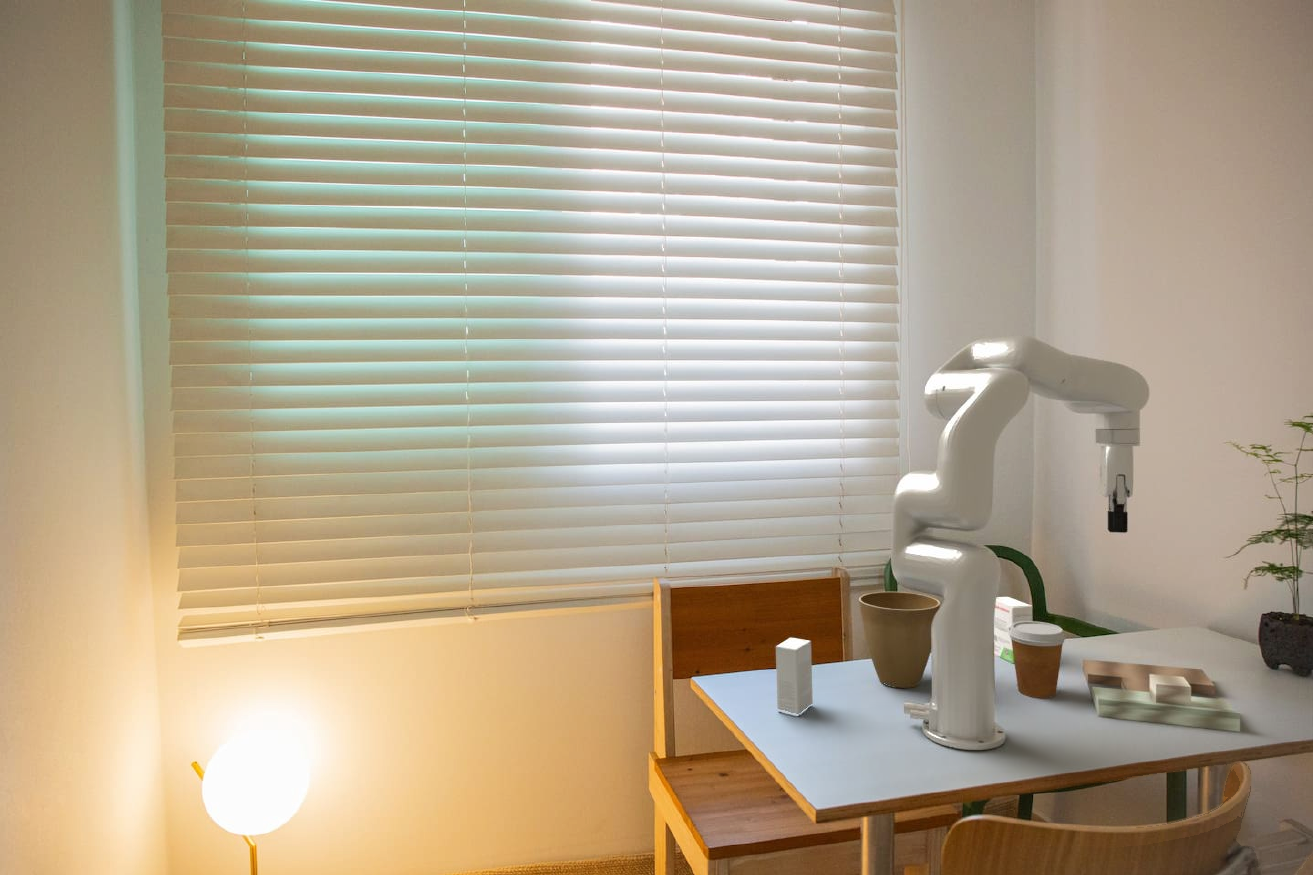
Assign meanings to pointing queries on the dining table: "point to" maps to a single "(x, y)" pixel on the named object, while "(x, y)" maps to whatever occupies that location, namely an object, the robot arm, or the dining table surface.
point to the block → (1170, 690)
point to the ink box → (1008, 624)
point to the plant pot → (898, 634)
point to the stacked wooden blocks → (1128, 697)
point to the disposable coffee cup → (1037, 657)
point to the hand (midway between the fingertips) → (1117, 531)
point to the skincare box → (794, 675)
